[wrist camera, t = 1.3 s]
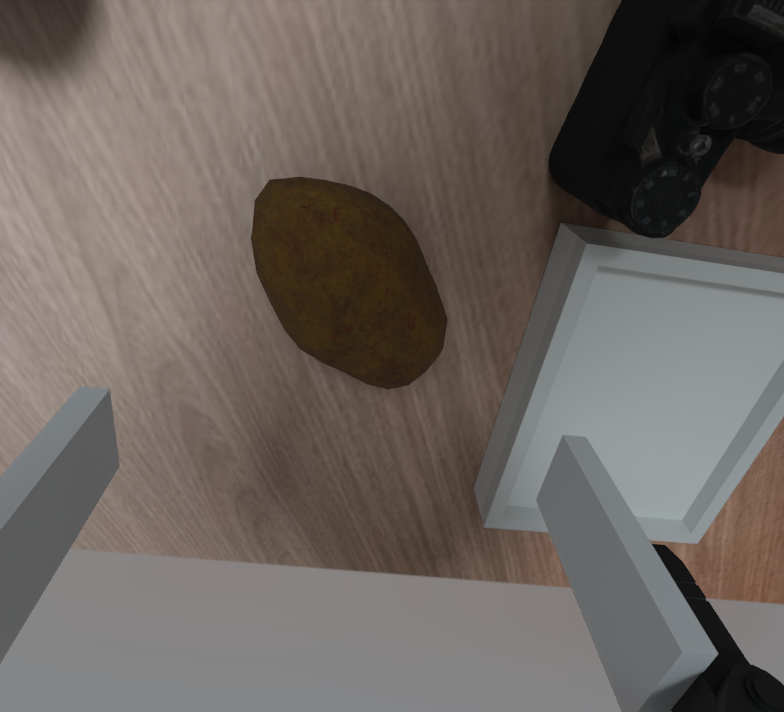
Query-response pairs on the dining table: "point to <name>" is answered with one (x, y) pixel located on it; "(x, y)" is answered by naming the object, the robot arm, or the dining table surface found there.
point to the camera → (671, 106)
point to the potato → (347, 280)
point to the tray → (642, 378)
